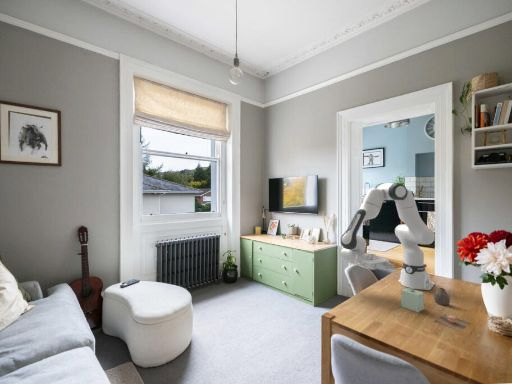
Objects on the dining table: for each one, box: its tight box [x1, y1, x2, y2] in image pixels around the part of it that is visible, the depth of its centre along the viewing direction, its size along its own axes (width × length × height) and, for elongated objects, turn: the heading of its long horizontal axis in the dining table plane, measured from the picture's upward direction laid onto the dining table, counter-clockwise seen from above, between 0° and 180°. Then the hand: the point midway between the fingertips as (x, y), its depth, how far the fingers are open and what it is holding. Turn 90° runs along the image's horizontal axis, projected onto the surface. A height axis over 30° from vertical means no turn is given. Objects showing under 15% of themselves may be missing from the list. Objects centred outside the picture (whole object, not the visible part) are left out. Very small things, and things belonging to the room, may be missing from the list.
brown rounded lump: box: [433, 287, 451, 307], centre depth 134 cm, size 7×7×9 cm
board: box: [434, 313, 471, 332], centre depth 115 cm, size 12×10×1 cm
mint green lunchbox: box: [400, 287, 425, 313], centre depth 129 cm, size 6×8×10 cm
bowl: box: [446, 314, 458, 324], centre depth 115 cm, size 3×3×2 cm
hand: (389, 267), depth 139 cm, fingers open, 8 cm apart
